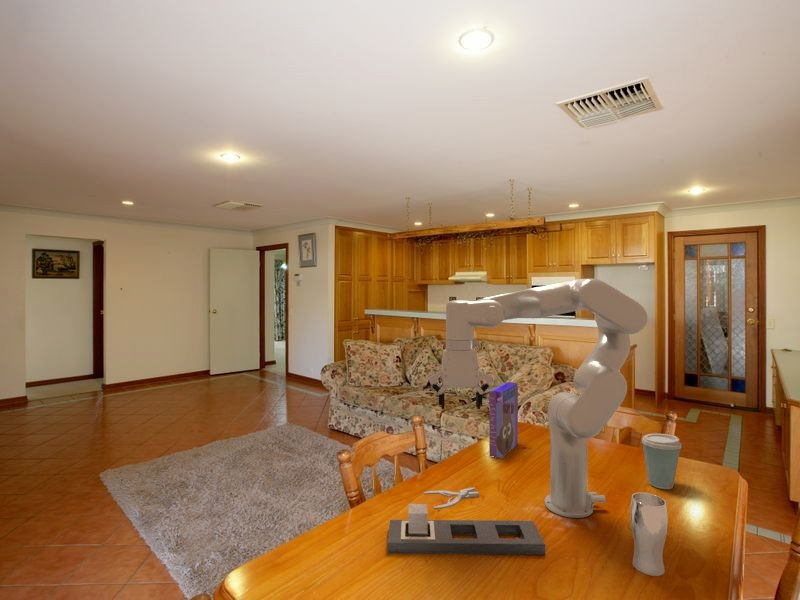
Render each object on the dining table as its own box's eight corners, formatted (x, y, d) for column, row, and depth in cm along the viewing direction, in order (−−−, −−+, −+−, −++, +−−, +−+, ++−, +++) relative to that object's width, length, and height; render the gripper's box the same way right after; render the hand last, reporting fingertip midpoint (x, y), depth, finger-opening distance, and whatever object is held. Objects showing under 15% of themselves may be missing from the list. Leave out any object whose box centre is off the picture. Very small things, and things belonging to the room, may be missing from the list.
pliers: (423, 489, 130) (469, 482, 134) (423, 494, 130) (469, 487, 134) (434, 504, 120) (484, 497, 124) (434, 510, 120) (484, 503, 124)
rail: (533, 530, 109) (533, 519, 109) (545, 554, 99) (545, 542, 99) (390, 529, 110) (389, 518, 110) (387, 553, 100) (387, 541, 100)
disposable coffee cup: (643, 489, 131) (643, 440, 130) (638, 475, 141) (639, 429, 140) (685, 495, 127) (685, 444, 126) (677, 480, 137) (677, 433, 136)
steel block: (427, 536, 107) (426, 504, 107) (427, 546, 103) (427, 513, 103) (408, 535, 107) (408, 504, 107) (408, 546, 103) (408, 513, 103)
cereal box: (502, 459, 155) (502, 392, 154) (489, 456, 158) (489, 390, 157) (517, 444, 170) (517, 383, 169) (505, 441, 172) (505, 381, 171)
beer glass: (623, 558, 98) (623, 492, 97) (652, 556, 98) (653, 491, 98) (643, 579, 91) (643, 508, 90) (674, 576, 91) (675, 506, 91)
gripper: (489, 343, 122) (489, 404, 122) (427, 343, 123) (428, 404, 123) (494, 347, 114) (494, 411, 115) (428, 347, 115) (429, 411, 115)
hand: (460, 407), depth 119 cm, fingers open, 9 cm apart
